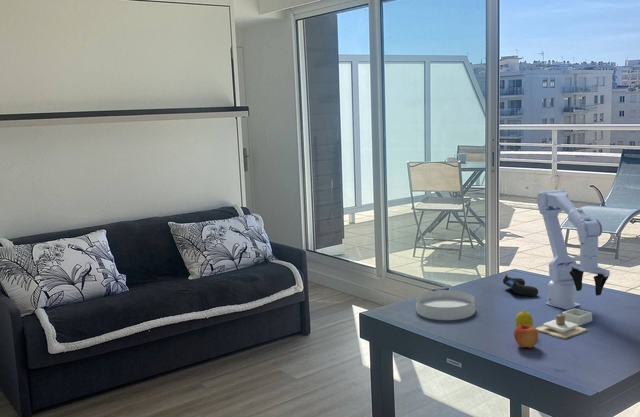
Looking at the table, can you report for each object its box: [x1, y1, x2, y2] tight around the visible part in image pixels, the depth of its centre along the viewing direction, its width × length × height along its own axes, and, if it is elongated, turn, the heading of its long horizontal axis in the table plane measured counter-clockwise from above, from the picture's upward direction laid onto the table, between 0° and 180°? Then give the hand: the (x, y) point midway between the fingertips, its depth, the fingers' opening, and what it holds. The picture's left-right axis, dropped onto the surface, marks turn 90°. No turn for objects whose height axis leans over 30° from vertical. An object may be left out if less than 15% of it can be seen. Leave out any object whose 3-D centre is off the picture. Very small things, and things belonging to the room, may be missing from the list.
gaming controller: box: [502, 274, 539, 297], centre depth 261 cm, size 17×6×10 cm
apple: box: [513, 323, 539, 349], centre depth 204 cm, size 7×7×8 cm
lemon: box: [515, 310, 534, 328], centre depth 215 cm, size 6×6×8 cm
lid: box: [542, 313, 579, 333], centre depth 216 cm, size 8×8×5 cm
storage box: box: [561, 307, 593, 327], centre depth 224 cm, size 7×7×3 cm
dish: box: [415, 289, 476, 321], centre depth 243 cm, size 22×22×5 cm
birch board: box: [535, 324, 588, 341], centre depth 217 cm, size 12×12×1 cm
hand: (588, 292), depth 225 cm, fingers open, 7 cm apart
